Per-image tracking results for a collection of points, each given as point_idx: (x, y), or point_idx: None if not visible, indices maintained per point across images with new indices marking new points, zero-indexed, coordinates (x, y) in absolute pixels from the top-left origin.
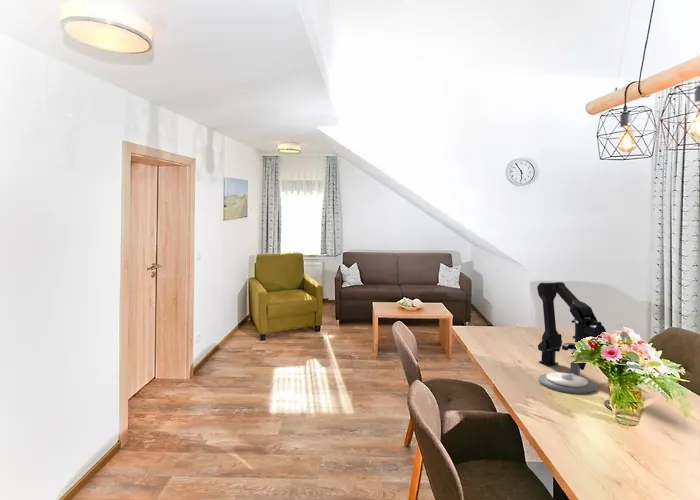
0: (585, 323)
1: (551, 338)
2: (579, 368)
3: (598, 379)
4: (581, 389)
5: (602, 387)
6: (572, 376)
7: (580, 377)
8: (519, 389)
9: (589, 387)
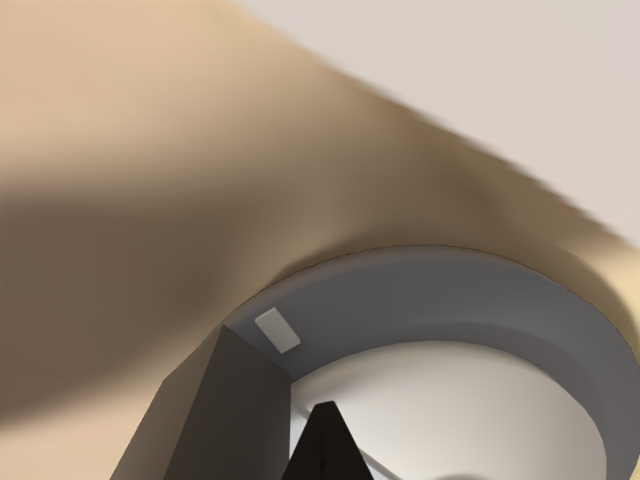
0: None
1: None
2: (221, 414)
3: (182, 21)
4: (622, 455)
5: (499, 167)
6: (372, 467)
7: (396, 394)
8: None
9: (599, 376)
